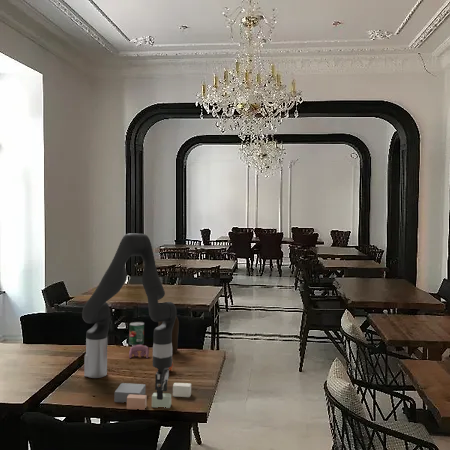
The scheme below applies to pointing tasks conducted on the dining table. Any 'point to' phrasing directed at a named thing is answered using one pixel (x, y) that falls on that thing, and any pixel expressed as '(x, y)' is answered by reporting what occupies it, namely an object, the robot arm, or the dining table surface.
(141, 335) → the canned tomato
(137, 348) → the video game controller
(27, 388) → the dining table surface
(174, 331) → the brown bottle
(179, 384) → the cream brick
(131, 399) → the terracotta brick
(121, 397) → the charcoal block
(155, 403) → the sage brick
